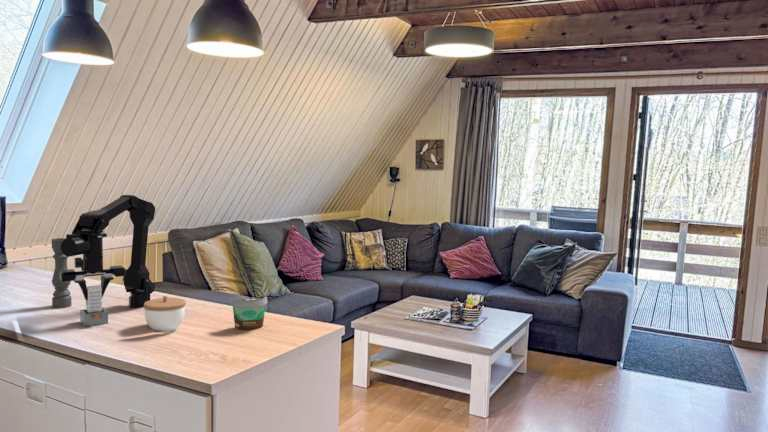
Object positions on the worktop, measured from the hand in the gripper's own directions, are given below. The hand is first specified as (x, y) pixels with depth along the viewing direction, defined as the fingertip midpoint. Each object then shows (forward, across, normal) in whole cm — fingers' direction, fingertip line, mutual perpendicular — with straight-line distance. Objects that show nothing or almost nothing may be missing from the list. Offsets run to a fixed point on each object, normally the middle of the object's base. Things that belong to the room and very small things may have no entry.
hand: (93, 299), depth 180 cm
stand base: (+9, 0, 0) cm, 9 cm away
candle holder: (+9, +5, -33) cm, 35 cm away
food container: (+9, -42, +29) cm, 52 cm away
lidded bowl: (+9, -18, +16) cm, 26 cm away
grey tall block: (+6, 0, 0) cm, 6 cm away
